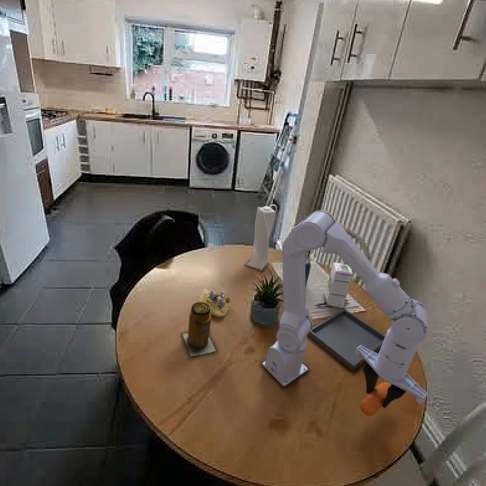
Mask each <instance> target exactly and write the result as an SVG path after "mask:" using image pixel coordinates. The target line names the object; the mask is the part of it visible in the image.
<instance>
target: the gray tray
mask: <svg viewBox="0 0 486 486" xmlns="http://www.w3.org/2000/svg"><path fill="white" fill-rule="evenodd" d="M307 336H308V337H309V338H310V339H312V340H313V341H314V342H315V343H317V344H318V345H319V346H320V347H321V348H322V349H324V350H325V351H326V352H327V353H329V354H330V355H332V356H333V357H334V358H335V359H337V361H339V362H340V363H342V365H344V366H345V367H346V368H348V369H349V370H350V371H351V372H353V371H355V370H356V369H357V368H358V367H360V366H361V365H362V364H363V363H364V362H366V360H365V359H363V358H362V357H361V356H360V357H358V356H356V355H355V351H356V348H357V347H359V346H360V345H362V346H363V347H365V348H367V349H369V350H371V351H373V352H375V353H377V352H378V351H380V349H381V346H382V344H383V341H384V339H385V336H386V334H383V332H380V331H379V330H378V329H376V328H375V327H373V326H371V325H370V324H369V323H367V322H365V321H364V320H362V319H361V318H360V317H358V316H356V315H355V314H353V313H352V312H350V311H349V310H347V309H346V308H342V309H341V310H340V311H338V312H337V313H334V314H333V315H331V316H329V317H328V318H326V319H325V320H323V321H321V322H320V323H318V324H316V325H315V326H313V327H312V329H311V330H310V331H309V333H308V335H307Z"/></svg>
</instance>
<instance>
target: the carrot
mask: <svg viewBox="0 0 486 486" xmlns="http://www.w3.org/2000/svg"><path fill="white" fill-rule="evenodd" d="M391 385H392V384H391V383H389V382H387V381H382V382H380V383H379V384H378V385H376V386H375V388H374V390H373V391H372V392H370V393H369V394H367V395H366V396H365V397H364V398H363V399H361V401H360V403H359V409H360V410H361V413H363V414H364V415H365V416H369V417H371V416H374V415H376V413H378V411H379V410H380V409H381V408H382V407H383V406H382V404H383V402H384V400H385V398H386V395H387V391H388V388H389V387H390V386H391Z"/></svg>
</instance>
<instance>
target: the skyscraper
mask: <svg viewBox="0 0 486 486" xmlns="http://www.w3.org/2000/svg"><path fill="white" fill-rule="evenodd" d="M272 206H274V207H275V210H274V209H273V208H272ZM277 211H278V207H277V205H276V204H274V203H272V204H270V205H269V206H267V205H265V206H263V207H260V206H257V209H256V214H255V220H254V221H255V222H254V241H253V245H252V250H251V255H250V260H249V261H248V262H247V263H246V264H245V266H246V267H249V268H252V269H254V270H257V271H260V272H262V271H263V270H264V269H265V268H266V267H267V266H268V264H269V262H268V257H269V250H270V249H269V248H270V247H269V244H270V242H269V241H270V240H269V238H270V236H271V234H272V232H273V228H274V225H275V220H276V214H277Z"/></svg>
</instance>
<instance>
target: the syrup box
mask: <svg viewBox="0 0 486 486" xmlns="http://www.w3.org/2000/svg"><path fill="white" fill-rule="evenodd" d="M352 278H353V270H352V269H351V268H350V267H349V266H348V265H347V264H346V263H341V262H333V263H332V267H331V269H330V274H329V279H328V282H327V286H326V290H325V294H324V298H325V301H326V305H327V306H330V307H333V308H339V309H344V306H345V303H346V299H347V296H348V293H349V289H350V285H351V281H352Z"/></svg>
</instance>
